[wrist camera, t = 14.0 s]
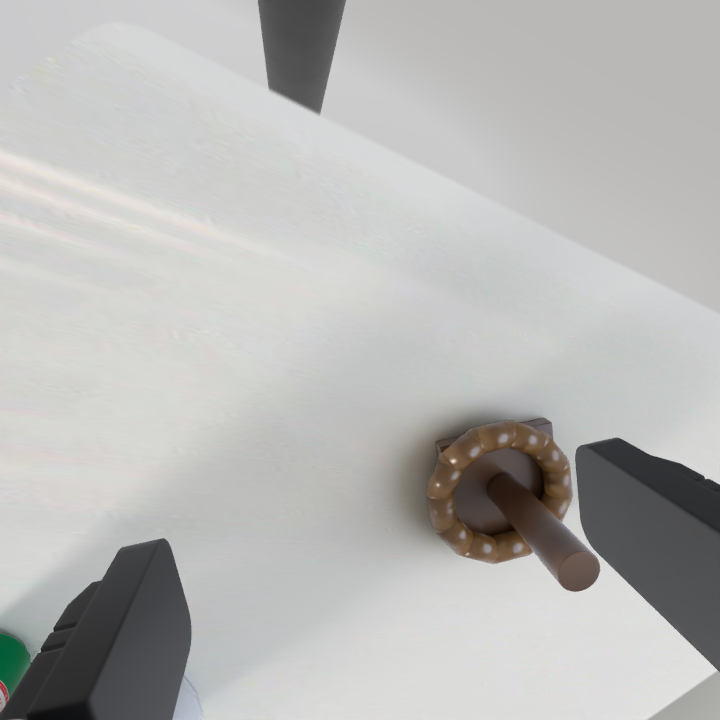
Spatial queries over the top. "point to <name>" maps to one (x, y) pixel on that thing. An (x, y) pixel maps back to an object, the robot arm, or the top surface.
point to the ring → (468, 452)
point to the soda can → (11, 666)
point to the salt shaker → (187, 703)
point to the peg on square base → (521, 510)
